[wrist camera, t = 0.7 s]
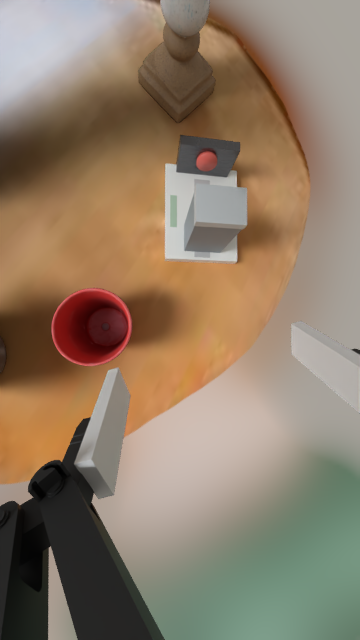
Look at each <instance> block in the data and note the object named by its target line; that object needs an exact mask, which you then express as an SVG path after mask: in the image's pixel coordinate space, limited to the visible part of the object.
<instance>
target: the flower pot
mask: <svg viewBox="0 0 360 640" xmlns="http://www.w3.org/2000/svg"><path fill="white" fill-rule="evenodd" d="M131 333H132V318H131V314H130V311H129V309H128V307H127V306H126V304H125V303H124V302H123V301H122V299H121V298H119V297H118V296H117V295H115V294H114V293H112V292H110V291H107V290H104V289H100V288H88V289H83V290H80V291H77V292H75V293H73V294H71V295H70V296H68V297H67V298H66V299H65V300H64V301H63V302H62V303H61V304H60V305H59V307H58V308H57V310H56V312H55V314H54V317H53V320H52V338H53V341H54V344H55V346H56V348H57V350H58V351H59V352H60V353H61V354H62V355H63V356H64V357H65V358H66V359H68V360H69V361H71V362H73V363H76V364H79V365H83V366H96V365H101V364H104V363H107V362H109V361H111V360H113V359H114V358H116V357H117V356H118V355H119V354H120V353H121V352H122V351H123V350H124V349H125V347H126V346H127V344H128V342H129V340H130V337H131Z"/></svg>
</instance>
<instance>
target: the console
mask: <svg viewBox="0 0 360 640" xmlns="http://www.w3.org/2000/svg"><path fill="white" fill-rule="evenodd" d="M239 152H240V142H233V141H225V140H217V139H209V138H201V137H193V136H185V135H180V141H179V148H178V155H177V162H176V164H166V165H165V261H177V262H201V263H225V264H235V263H236V262H237V235H236V236H235V237H234V238H233V240H232V241H231V242H230V243H229V244H228V245H227V246H226V247H225V248H224V249H223V250H222V251H221V252H220V253H215V252H195V251H184V224H185V220H186V217H187V214H188V210H189V207H190V204H191V201H192V197H193V194H194V188H195V185H196V183H199V184H209V185H220V186H230V187H237V171H233V170H231V168H232V166H233V164H234V162H235V160H236V158H237V156H238V154H239Z"/></svg>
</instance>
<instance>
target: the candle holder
mask: <svg viewBox="0 0 360 640" xmlns="http://www.w3.org/2000/svg"><path fill="white" fill-rule="evenodd" d="M160 3H161V10H162V14H163V16H164V19H165V21H166V24H165V26H164V31H163V39H164V42H162V43H161V44H160V45H159V46H158V47H157V48H155V49H154V50H153V51H152V52H151V53H150V54H149V55H148V56H147V57H146V58H145V60H144V61H143V65H142V66H141V67H140V68H139V70H138V78H139V83H140V84H141V85H142V86H143V88H144V89H145V90H146V91H147V92H148V93H149V94H150V95H151V96H152V97H153V98H154V99H155V100H156V101H157V103H158V104H159V105H160V106H161V107H162V108H163V109H164V110H165V111H166V112H167V113H168V114H169V115H170V116H171V117H172V118H173V119H174V120H175V121H176V122H178V123H179V122H181V121H182V120H183V119H184V118H185V117H187V116H188V115H189V114H190V113H191V112H192V111H193V110H194V109H195V108H196V107H198V106H199V105H200V104H201V103H202V102H203V101H204V100H205V99H206V98H207V97H208V96H209V95H210V94H211V93H212V92H213V90H214V86H215V82H216V80H215V78H214V77H213V76H212V72H213V71H212V68H211V67H210V65H209V64H208V63H207V61H206V60H205V59H204V58H203V57H202V56H201V55H200V53H199V52H198V48H199V44H200V34H199V31H200V30H201V29H202V28H203V26H204V25H205V22H206V20H207V17H208V13H209V4H210V0H160Z"/></svg>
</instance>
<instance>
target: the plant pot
mask: <svg viewBox="0 0 360 640" xmlns="http://www.w3.org/2000/svg"><path fill="white" fill-rule="evenodd" d="M5 363H6V349H5V345H4V342H3V340H2V338H1V336H0V373H1V372H2V371H3V369H4V366H5Z"/></svg>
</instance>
